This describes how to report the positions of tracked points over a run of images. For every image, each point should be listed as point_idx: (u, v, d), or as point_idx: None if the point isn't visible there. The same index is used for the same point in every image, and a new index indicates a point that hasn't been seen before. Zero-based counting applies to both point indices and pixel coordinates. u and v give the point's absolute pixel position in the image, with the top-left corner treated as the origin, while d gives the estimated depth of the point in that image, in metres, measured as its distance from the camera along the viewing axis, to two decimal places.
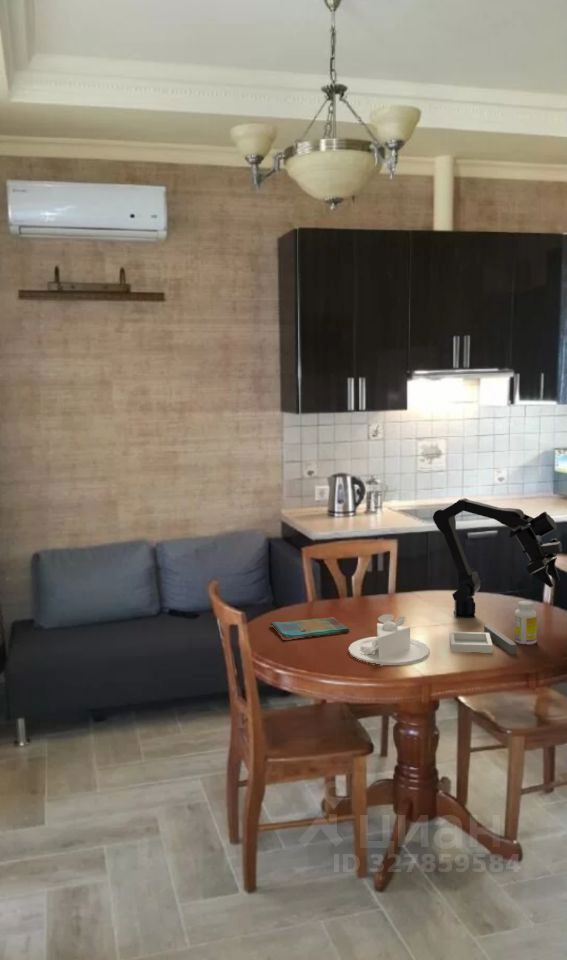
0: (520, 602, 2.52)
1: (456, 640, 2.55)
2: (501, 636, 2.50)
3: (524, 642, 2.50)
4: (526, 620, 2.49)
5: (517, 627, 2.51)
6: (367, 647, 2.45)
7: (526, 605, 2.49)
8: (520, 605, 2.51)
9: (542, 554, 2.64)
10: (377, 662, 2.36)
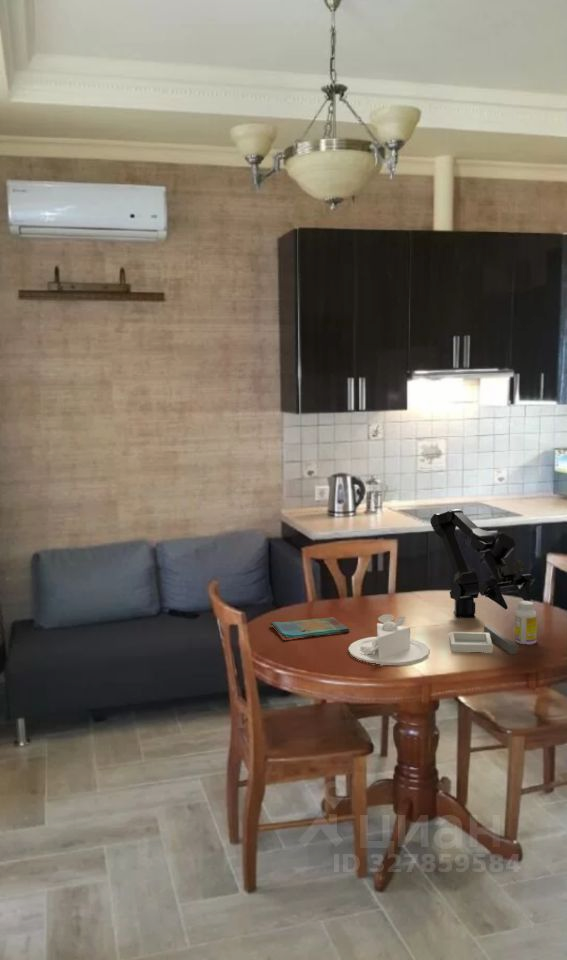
0: (520, 602, 2.52)
1: (456, 640, 2.55)
2: (501, 636, 2.50)
3: (524, 642, 2.50)
4: (526, 620, 2.49)
5: (517, 627, 2.51)
6: (367, 647, 2.45)
7: (526, 605, 2.49)
8: (520, 605, 2.51)
9: (499, 576, 2.58)
10: (377, 662, 2.36)
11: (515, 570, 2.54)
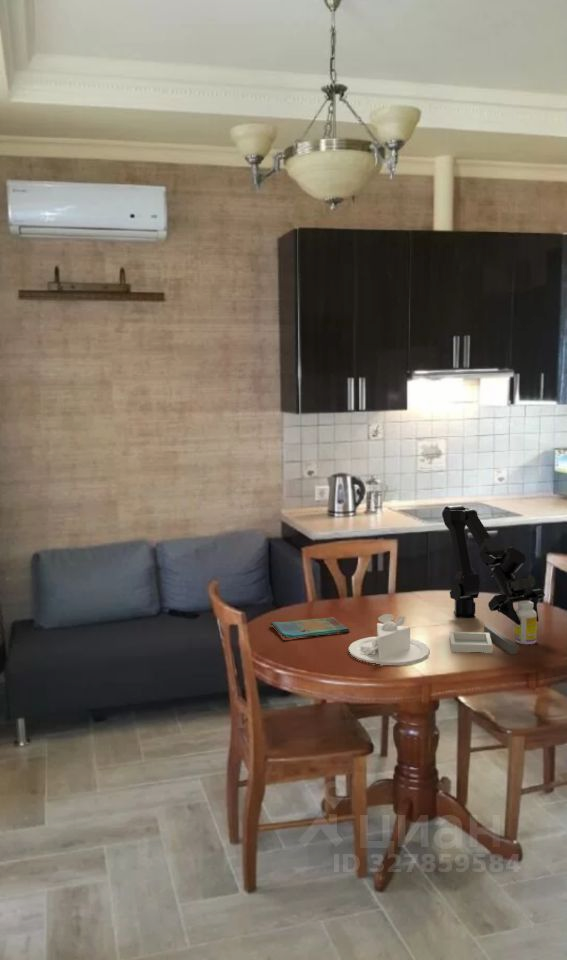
0: (520, 602, 2.52)
1: (456, 640, 2.55)
2: (501, 636, 2.50)
3: (524, 642, 2.50)
4: (526, 620, 2.49)
5: (517, 627, 2.51)
6: (367, 647, 2.45)
7: (526, 605, 2.49)
8: (520, 605, 2.51)
9: (509, 591, 2.54)
10: (377, 662, 2.36)
11: (525, 585, 2.50)
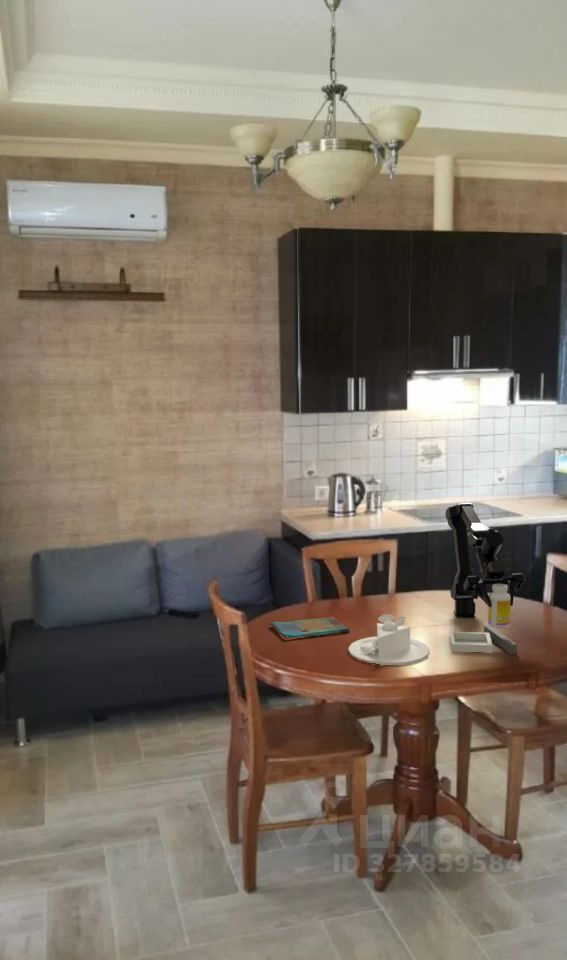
0: (494, 585, 2.48)
1: (456, 640, 2.55)
2: (501, 636, 2.50)
3: (494, 625, 2.46)
4: (496, 603, 2.45)
5: (489, 609, 2.48)
6: (367, 647, 2.45)
7: (498, 588, 2.46)
8: (493, 587, 2.47)
9: (485, 573, 2.51)
10: (377, 662, 2.36)
11: (498, 568, 2.46)
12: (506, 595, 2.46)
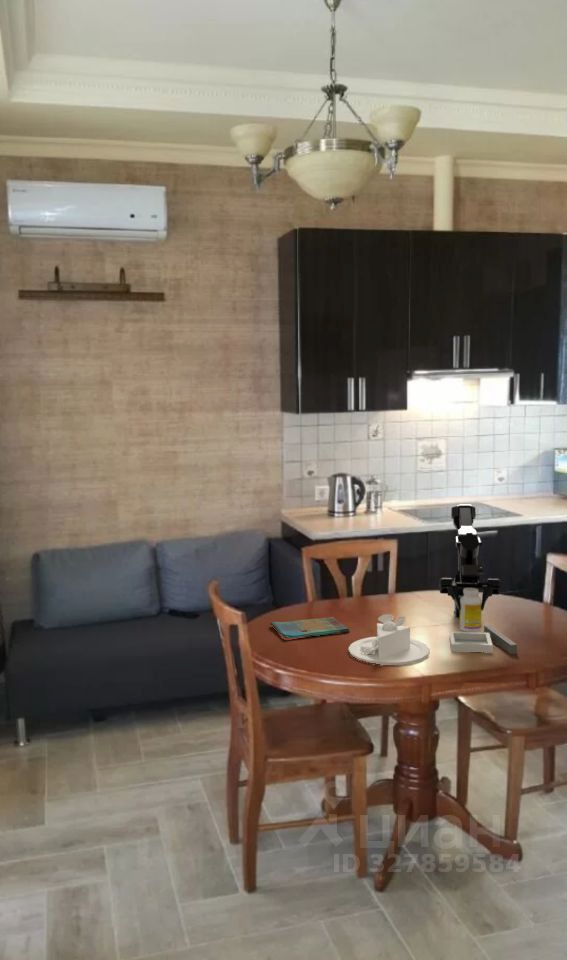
0: (466, 588, 2.50)
1: (456, 640, 2.55)
2: (501, 636, 2.50)
3: (463, 628, 2.48)
4: (464, 606, 2.47)
5: None
6: (367, 647, 2.45)
7: (467, 591, 2.47)
8: (463, 591, 2.49)
9: (460, 576, 2.53)
10: (377, 662, 2.36)
11: (469, 572, 2.47)
12: (475, 599, 2.46)
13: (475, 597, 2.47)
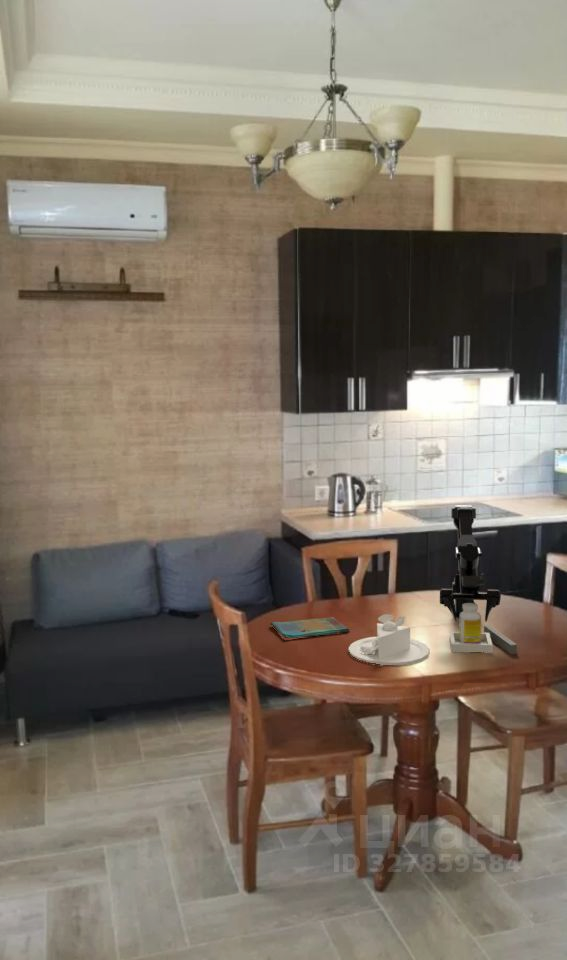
0: (465, 604, 2.50)
1: (456, 640, 2.55)
2: (501, 636, 2.50)
3: None
4: (464, 621, 2.47)
5: (459, 628, 2.51)
6: (367, 647, 2.45)
7: (466, 607, 2.48)
8: (462, 606, 2.49)
9: (460, 587, 2.53)
10: (377, 662, 2.36)
11: (469, 583, 2.48)
12: (474, 615, 2.47)
13: (474, 612, 2.48)
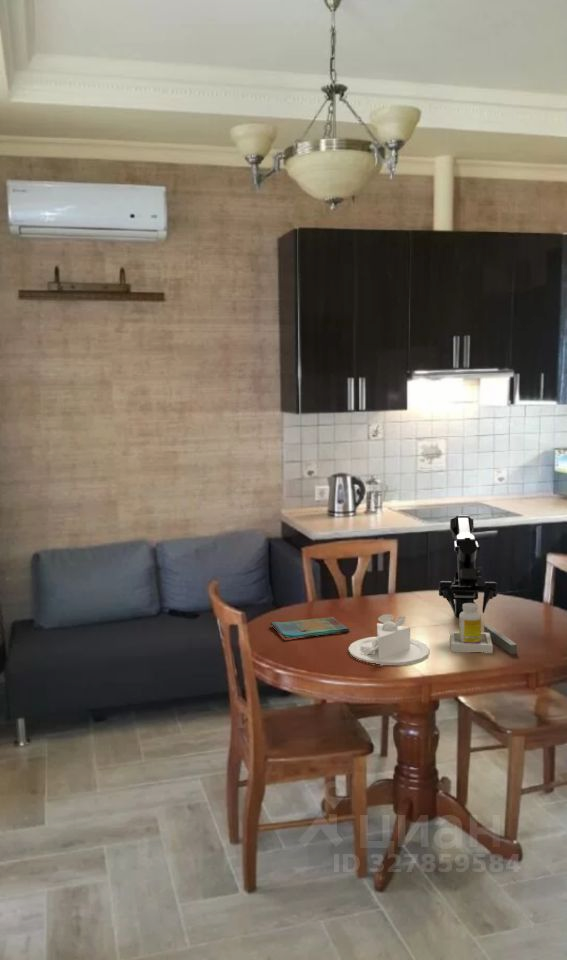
0: (465, 604, 2.50)
1: (456, 640, 2.55)
2: (501, 636, 2.50)
3: None
4: (464, 621, 2.47)
5: (459, 628, 2.51)
6: (367, 647, 2.45)
7: (466, 607, 2.48)
8: (462, 607, 2.49)
9: (458, 579, 2.62)
10: (377, 662, 2.36)
11: (467, 575, 2.57)
12: (474, 615, 2.47)
13: (474, 612, 2.47)
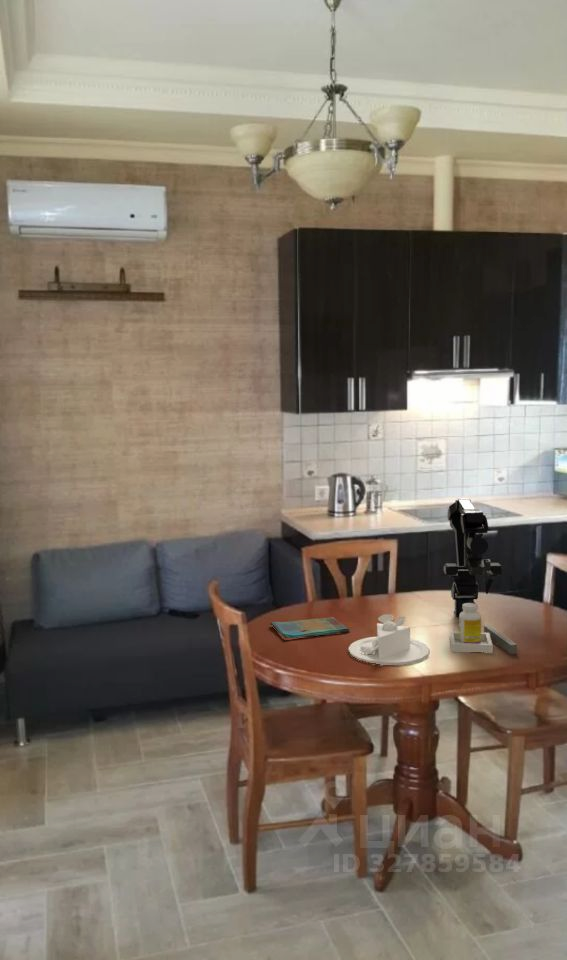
0: (465, 604, 2.50)
1: (456, 640, 2.55)
2: (501, 636, 2.50)
3: None
4: (464, 621, 2.47)
5: (459, 628, 2.51)
6: (367, 647, 2.45)
7: (466, 607, 2.48)
8: (462, 606, 2.49)
9: (465, 565, 2.63)
10: (377, 662, 2.36)
11: (475, 573, 2.57)
12: (474, 615, 2.47)
13: (474, 612, 2.47)
